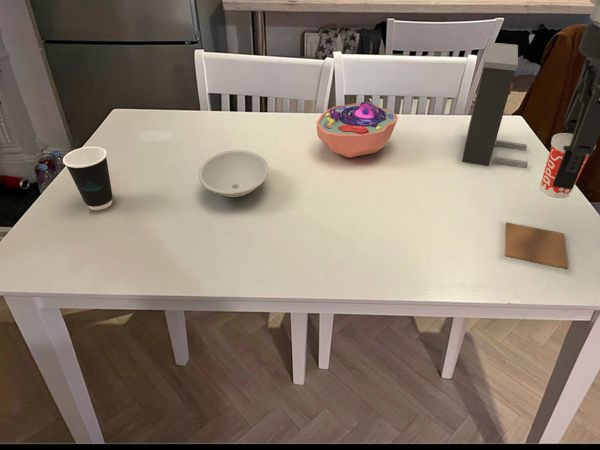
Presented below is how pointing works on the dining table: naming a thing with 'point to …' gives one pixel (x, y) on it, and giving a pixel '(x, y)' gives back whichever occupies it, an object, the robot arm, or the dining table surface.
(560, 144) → the beverage cup
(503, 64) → the coffee machine
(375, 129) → the cell model
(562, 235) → the cork coaster
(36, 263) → the dining table surface
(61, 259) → the dining table surface
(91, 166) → the dixie cup
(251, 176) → the dish
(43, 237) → the dining table surface
